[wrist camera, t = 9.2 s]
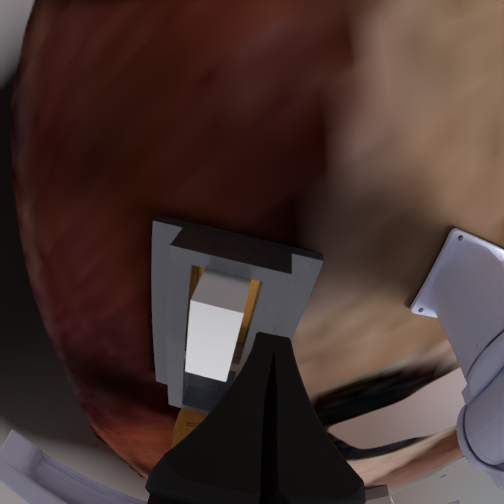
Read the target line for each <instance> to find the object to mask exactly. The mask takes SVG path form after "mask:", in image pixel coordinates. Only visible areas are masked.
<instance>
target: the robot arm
mask: <svg viewBox="0 0 504 504" xmlns="http://www.w3.org/2000/svg"><path fill="white" fill-rule="evenodd" d="M460 235H461V237H460V238H459V239H458V237H459V236H460ZM420 308H421V309H420ZM410 310H411V312H412V313H415V314H420V315H425V316H430V317H436V318H438V319H439V321H440V323H441V325H442V327H443V329H444V331H445V334H446V336H447V338H448V340H449V342H450V344H451V346H452V349H453V351H454V353H455V355H456V358H457V360H458V362H459V365H460V367H461V369H462V372H463V374H464V377H465V379H466V382H467V385H466V387H465V388H464V390H463V391H462V395H463V398H464V401H465V405H464V407H463V408H462V410H461V411H460V413H459V417H458V420H457V437H458V442H459V445H460V448H461V450H462V452H463V454H464V456H465V457H466V459H467V460H468V461H469V462H470V463H471V464H472V465H473V466H474V467H476V468H477V469H479V470H481V471H484V472H485V473H487V474H488V475H489V476H490V477H491V478H492V479H493V480H494V482H495V483H496V485H497V486H498V488H501V489H504V249H503V248H500V247H498V246H496V245H494V244H492V243H490V242H487V241H485V240H483V239H481V238H478V237H476V236H474V235H472V234H469V233H467V232H464V231H462V230H460V229H457V228H454V229H452V230H451V231H450V233H449V235H448V237H447V240H446V242H445V244H444V246H443V248H442V250H441V252H440V254H439V256H438V258H437V260H436V262H435V264H434V266H433V268H432V269H431V271H430V273H429V275H428V277H427V279H426V280H425V282H424V284H423V286H422V288H421V289H420V291H419V293H418V295H417V296H416V298H415V300H414V301H413V303H412V305H411V307H410ZM0 481H2V482H3V483H4V484H5V485H6V486H8V487H9V488H10V489H11V490H13V491H14V492H15V493H16V494H18V495H19V496H20V497H21V498H23V499H24V500H25V501H26V502H28V503H29V504H365V503H366V493H365V487H364V482H363V480H362V479H361V477H360V476H359V475H358V474H357V473H356V472H355V471H354V470H353V469H352V467H351V466H350V465H349V464H348V463H347V461H346V460H345V459H344V457H343V456H342V455H341V454H340V452H339V451H338V449H337V448H336V446H335V445H334V443H333V442H332V440H331V439H330V437H329V436H328V434H327V433H326V431H325V429H324V427H323V426H322V424H321V422H320V420H319V418H318V416H317V414H316V412H315V410H314V408H313V406H312V404H311V402H310V399H309V397H308V395H307V392H306V390H305V387H304V384H303V382H302V379H301V376H300V373H299V370H298V367H297V363H296V360H295V356H294V352H293V348H292V343H291V340H290V338H289V337H283V336H278V335H273V334H268V333H264V332H258V333H256V336H255V339H254V343H253V346H252V349H251V352H250V354H249V356H248V358H247V360H246V362H245V364H244V366H243V367H242V369H241V371H240V373H239V374H238V376H237V377H236V379H235V380H234V382H233V384H232V385H231V387H230V388H229V389H228V391H227V392H226V394H225V395H224V396H223V397H222V399H221V400H220V401H219V402H218V404H217V405H216V406H215V407H214V408H213V410H212V411H211V412H210V413H209V414H208V415H207V416H206V417H205V419H204V420H203V421H202V422H201V423H200V424H199V425H198V426H197V427H196V428H195V429H193V430H192V431H191V432H190V433H189V434H188V435H187V436H186V437H185V438H184V439H183V440H182V441H180V442H179V443H178V444H177V445H175V446H174V447H173V448H172V449H170V450H169V451H168V452H167V453H165V454H164V456H163V457H162V458H161V459H160V461H159V462H158V463H157V464H156V465H155V467H154V468H153V469H152V471H151V472H150V474H149V477H148V480H147V483H146V486H145V488H146V490H147V491H148V492H149V493H150V496H149V499H148V502H145V501H142V500H139V499H136V498H134V497H131V496H128V495H126V494H123V493H121V492H118V491H116V490H113V489H111V488H109V487H107V486H104V485H102V484H100V483H98V482H96V481H94V480H91V479H89V478H87V477H85V476H83V475H82V474H80V473H78V472H76V471H74V470H72V469H70V468H68V467H67V466H65V465H63V464H61V463H60V462H58V461H56V460H54V459H53V458H51V457H50V456H48V455H46V454H45V453H43V451H42V450H40V449H39V448H38V447H37V446H35V445H34V444H33V443H31V442H30V441H29V440H27V439H26V438H24V437H23V436H22V435H20V434H19V433H17V432H16V431H15V430H11V432H10V434H9V435H8V437H7V439H6V441H5V443H4V445H3V447H2V449H1V451H0ZM449 504H460V501H459V500H458V501H455V502H452V503H449Z"/></svg>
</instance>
